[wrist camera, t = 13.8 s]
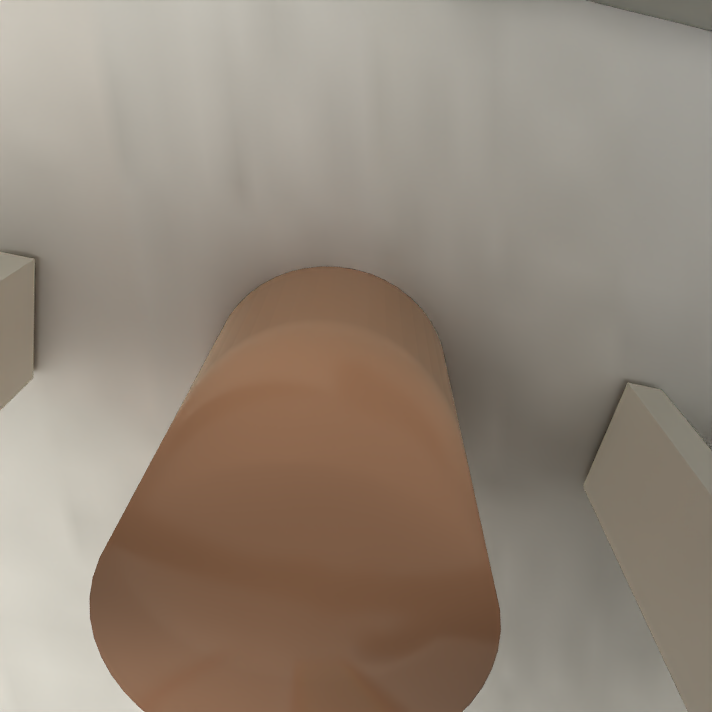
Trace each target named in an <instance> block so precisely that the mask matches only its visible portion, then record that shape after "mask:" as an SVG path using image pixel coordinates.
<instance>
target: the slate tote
mask: <svg viewBox="0 0 712 712" xmlns="http://www.w3.org/2000/svg"><path fill="white" fill-rule="evenodd" d="M588 1H592V2H596V3H600V4H604V5H608V6H612V7H616V8H620V9H624V10H628V11H632V12H636V13H640V14H644V15H648V16H652V17H656V18H661V19H665V20H669V21H673V22H677V23H681V24H685V25H689V26H693V27H697V28H701V29H705V30H709V31H712V0H588Z"/></svg>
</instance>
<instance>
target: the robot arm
mask: <svg viewBox="0 0 712 712" xmlns="http://www.w3.org/2000/svg"><path fill="white" fill-rule="evenodd" d="M34 289H35V259H33V258H28V257H23V256H19V255H14V254H9V253H4V252H0V410H1V409H2V408H3V407H4V406H5V405H6V404H7V403H8V402H9V401H10V400H11V399H12V398H13V397H14V396H15V395H16V394H17V393H18V392H19V391H20V390H21V389H22V388H23V387H24V386H26V385H27V384H28V383H29V382H30V381H31V380H32V379H33V356H34ZM583 488H584V490H585V492H586V494H587V496H588V498H589V500H590V503H591V505H592V507H593V509H594V511H595V513H596V516H597V518H598V520H599V522H600V524H601V526H602V528H603V531H604V533H605V535H606V537H607V539H608V541H609V543H610V546H611V548H612V550H613V552H614V554H615V556H616V558H617V561H618V563H619V565H620V567H621V569H622V571H623V574H624V576H625V578H626V580H627V582H628V584H629V586H630V589H631V591H632V593H633V595H634V597H635V599H636V601H637V604H638V606H639V608H640V610H641V612H642V614H643V616H644V619H645V621H646V623H647V625H648V627H649V629H650V631H651V634H652V636H653V638H654V640H655V642H656V644H657V647H658V649H659V651H660V653H661V655H662V657H663V659H664V662H665V664H666V666H667V668H668V670H669V672H670V674H671V677H672V679H673V681H674V683H675V685H676V687H677V689H678V692H679V694H680V696H681V698H682V700H683V702H684V704H685V707H686V709H687V711H688V712H712V450H711V449H710V448H709V447H708V445H707V444H706V443H705V442H704V441H703V439H702V438H701V437H700V436H699V434H698V433H697V432H696V431H695V430H694V428H693V427H692V426H691V425H690V424H689V422H688V421H687V420H686V419H685V417H684V416H683V415H682V414H681V413H680V411H679V410H678V409H677V408H676V406H675V405H674V404H673V403H672V402H671V400H670V399H669V398H668V397H667V395H666V394H665V393H664V392H663V391H662V390H661V389H657V388H652V387H647V386H642V385H637V384H633V383H627V385H626V388H625V390H624V392H623V394H622V397H621V399H620V401H619V404H618V406H617V408H616V411H615V413H614V415H613V418H612V420H611V422H610V425H609V427H608V429H607V432H606V434H605V436H604V438H603V441H602V443H601V445H600V448H599V450H598V452H597V455H596V457H595V459H594V462H593V464H592V466H591V469H590V471H589V473H588V475H587V478H586V480H585V482H584V485H583Z"/></svg>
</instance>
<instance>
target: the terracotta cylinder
mask: <svg viewBox="0 0 712 712" xmlns="http://www.w3.org/2000/svg"><path fill="white" fill-rule="evenodd" d="M90 620H91V625H92V630H93V635H94V639H95V642H96V644H97V647H98V650H99V652H100V655H101V657H102V659H103V661H104V663H105V664H106V666H107V668H108V670H109V672H110V673H111V675H112V676H113V678H114V679H115V680H116V682H117V683H118V684H119V686H120V687H121V688H122V690H123V691H124V692H125V693H126V694H127V695H128V696H129V697H130V698H131V699H132V700H133V701H134V702H135V703H136V705H137V706H138V707H140V708H141V709H142V710H143V711H144V712H462V711H463V710H464V709H465V708H466V707H467V706H468V705H469V704H470V703H471V702H472V701H473V699H474V698H475V697H476V695H477V694H478V693H479V691H480V690H481V688H482V687H483V685H484V683H485V681H486V679H487V678H488V676H489V674H490V672H491V670H492V667H493V664H494V661H495V658H496V655H497V652H498V646H499V639H500V632H501V625H500V608H499V604H498V599H497V594H496V590H495V585H494V581H493V576H492V572H491V567H490V562H489V558H488V553H487V549H486V544H485V540H484V535H483V531H482V526H481V521H480V517H479V512H478V508H477V503H476V499H475V494H474V490H473V485H472V481H471V476H470V471H469V467H468V462H467V458H466V453H465V449H464V444H463V440H462V435H461V430H460V426H459V421H458V417H457V412H456V408H455V403H454V399H453V394H452V389H451V385H450V380H449V376H448V371H447V367H446V362H445V358H444V353H443V348H442V345H441V342H440V340H439V337H438V334H437V332H436V330H435V329H434V327H433V325H432V323H431V321H430V320H429V318H428V317H427V316H426V314H425V313H424V312H423V310H422V309H421V308H420V307H419V306H418V305H417V304H416V303H415V302H414V301H413V300H412V299H411V298H410V297H409V296H408V295H406V294H405V293H404V292H403V291H401V290H400V289H399V288H397V287H396V286H394V285H392V284H390V283H389V282H387V281H385V280H383V279H381V278H379V277H376V276H374V275H371V274H369V273H365V272H362V271H358V270H355V269H349V268H342V267H324V266H321V267H311V268H304V269H299V270H295V271H291V272H288V273H285V274H283V275H280V276H277V277H275V278H273V279H271V280H269V281H267V282H265V283H264V284H262V285H260V286H259V287H258V288H256V289H255V290H253V291H252V292H251V293H249V294H248V295H247V296H246V297H245V298H244V299H243V300H242V301H241V302H240V303H239V304H238V305H237V307H236V308H235V309H234V310H233V312H232V313H231V314H230V316H229V317H228V319H227V321H226V323H225V325H224V326H223V328H222V330H221V332H220V334H219V336H218V337H217V339H216V341H215V343H214V345H213V347H212V349H211V351H210V352H209V354H208V356H207V358H206V360H205V362H204V364H203V366H202V367H201V369H200V371H199V373H198V375H197V377H196V379H195V380H194V382H193V384H192V386H191V388H190V390H189V392H188V394H187V395H186V397H185V399H184V401H183V403H182V405H181V407H180V409H179V410H178V412H177V414H176V416H175V418H174V420H173V422H172V423H171V425H170V427H169V429H168V431H167V433H166V435H165V437H164V438H163V440H162V442H161V444H160V446H159V448H158V450H157V452H156V453H155V455H154V457H153V459H152V461H151V463H150V465H149V466H148V468H147V470H146V472H145V474H144V476H143V478H142V480H141V481H140V483H139V485H138V487H137V489H136V491H135V493H134V494H133V496H132V498H131V500H130V502H129V504H128V506H127V508H126V509H125V511H124V513H123V515H122V517H121V519H120V521H119V523H118V524H117V526H116V528H115V530H114V532H113V534H112V536H111V537H110V539H109V541H108V543H107V545H106V547H105V549H104V551H103V552H102V554H101V556H100V558H99V561H98V564H97V567H96V570H95V573H94V575H93V579H92V586H91V592H90Z"/></svg>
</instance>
